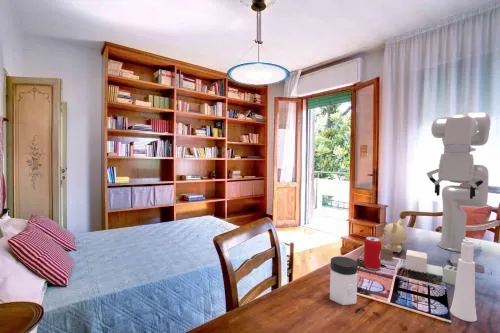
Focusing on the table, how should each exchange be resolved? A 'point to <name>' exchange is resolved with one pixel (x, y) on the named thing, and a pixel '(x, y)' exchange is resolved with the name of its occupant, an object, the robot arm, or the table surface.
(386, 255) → the walnut cube
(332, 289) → the jar
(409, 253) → the cream block
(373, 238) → the beverage can
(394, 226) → the kitten
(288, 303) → the table surface
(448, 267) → the sage cube
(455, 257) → the stone block
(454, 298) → the cosmetic bottle
